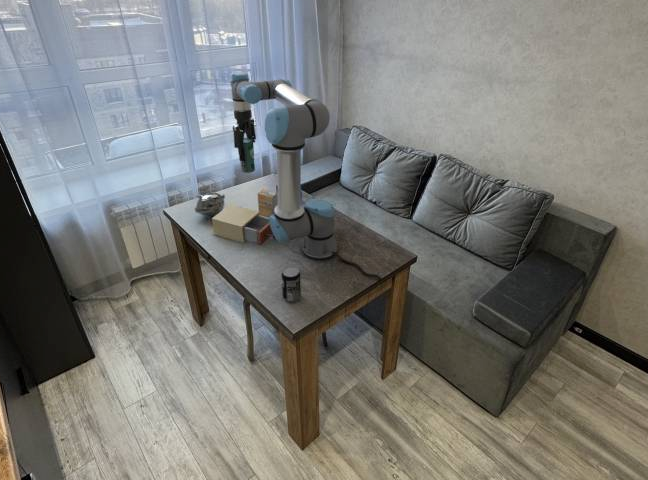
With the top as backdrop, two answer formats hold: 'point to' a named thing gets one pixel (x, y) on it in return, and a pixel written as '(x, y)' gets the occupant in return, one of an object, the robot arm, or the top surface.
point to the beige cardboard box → (233, 222)
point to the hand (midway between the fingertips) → (247, 158)
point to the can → (248, 156)
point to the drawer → (258, 230)
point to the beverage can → (291, 283)
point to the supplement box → (267, 203)
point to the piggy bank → (210, 204)
